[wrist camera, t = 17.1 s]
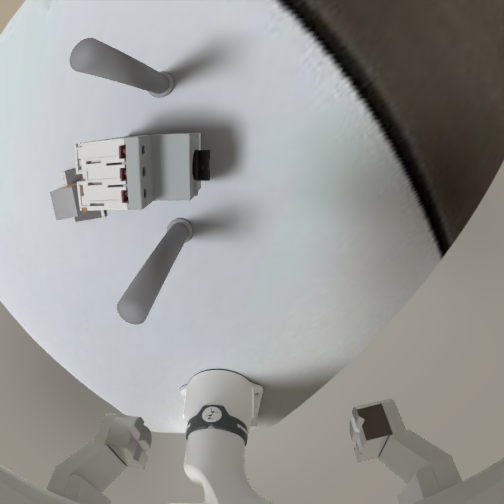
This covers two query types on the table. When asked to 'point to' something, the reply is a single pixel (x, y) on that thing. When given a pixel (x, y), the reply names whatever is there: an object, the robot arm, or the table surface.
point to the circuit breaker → (140, 170)
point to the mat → (71, 178)
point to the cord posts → (179, 230)
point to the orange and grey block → (67, 202)
